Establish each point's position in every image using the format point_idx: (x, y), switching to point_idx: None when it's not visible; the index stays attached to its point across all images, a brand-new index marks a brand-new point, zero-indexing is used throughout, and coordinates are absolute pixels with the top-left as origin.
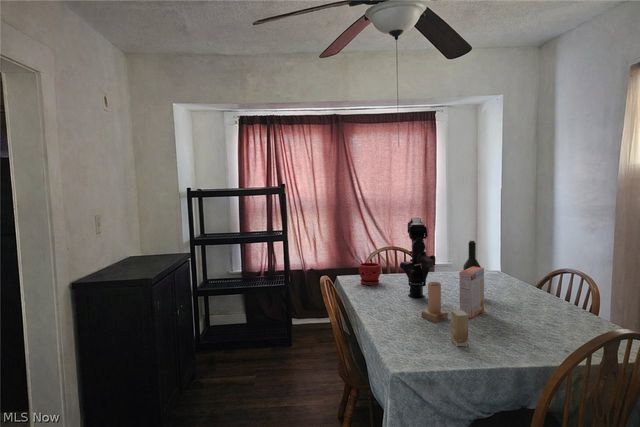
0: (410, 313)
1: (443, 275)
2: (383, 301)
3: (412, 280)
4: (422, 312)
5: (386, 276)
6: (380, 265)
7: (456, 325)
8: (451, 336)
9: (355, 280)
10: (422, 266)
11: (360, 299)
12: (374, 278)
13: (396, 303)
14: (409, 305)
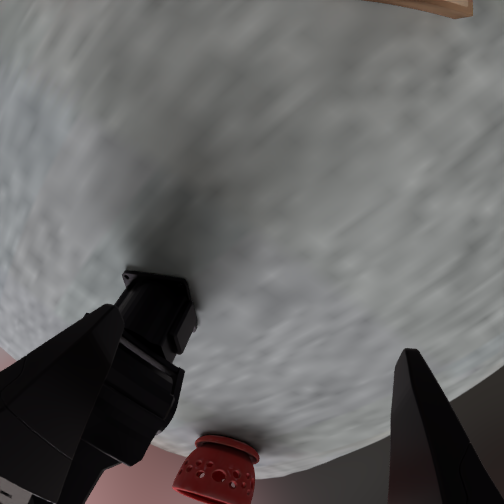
0: (451, 125)
1: (2, 335)
2: (368, 354)
3: (410, 373)
4: (470, 7)
5: None
6: (177, 486)
7: None
8: None
9: None
10: (48, 482)
11: None
12: (223, 457)
13: (347, 303)
14: (316, 234)
